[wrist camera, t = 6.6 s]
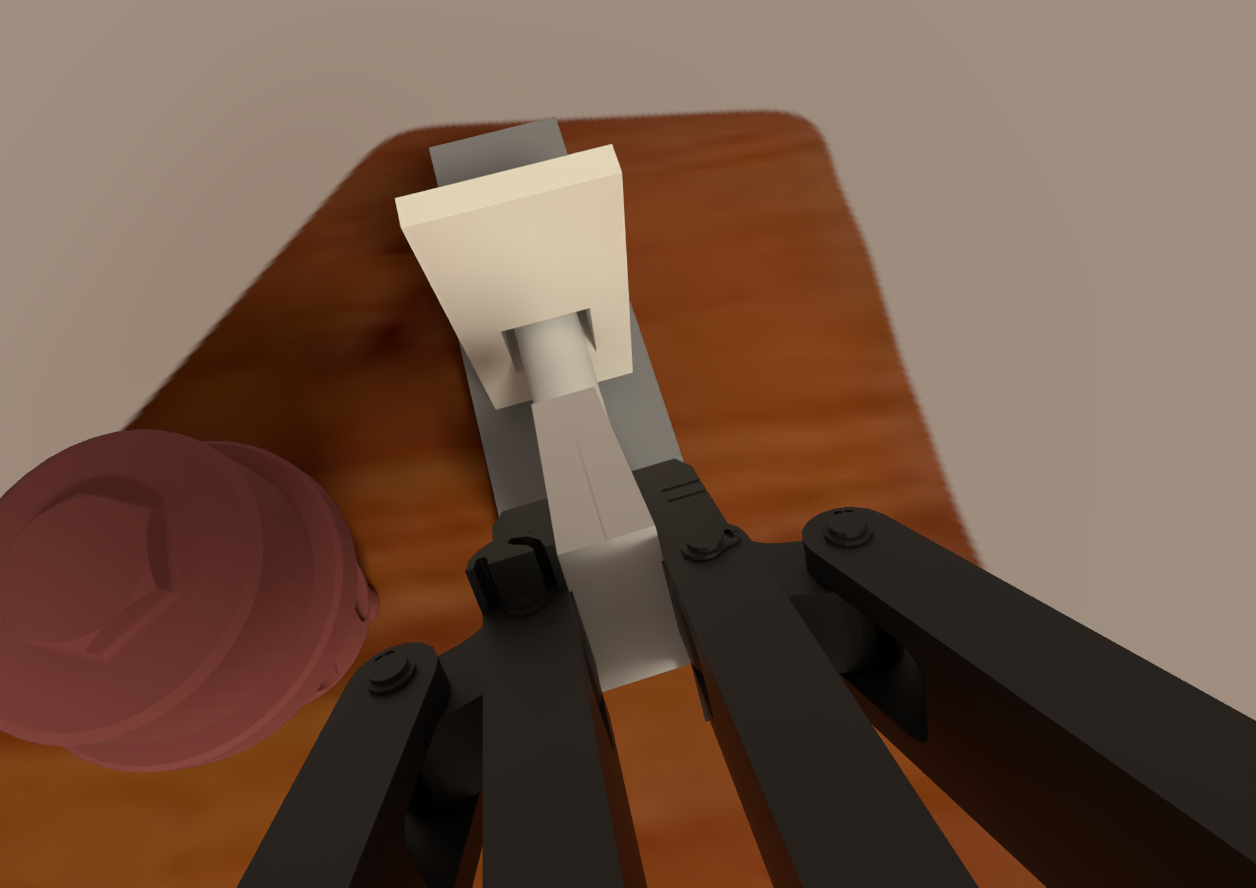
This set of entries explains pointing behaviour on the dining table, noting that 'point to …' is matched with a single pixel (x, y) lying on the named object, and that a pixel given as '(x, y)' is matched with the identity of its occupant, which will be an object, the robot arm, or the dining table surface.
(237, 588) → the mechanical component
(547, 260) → the sleeve
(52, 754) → the dining table surface
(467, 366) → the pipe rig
